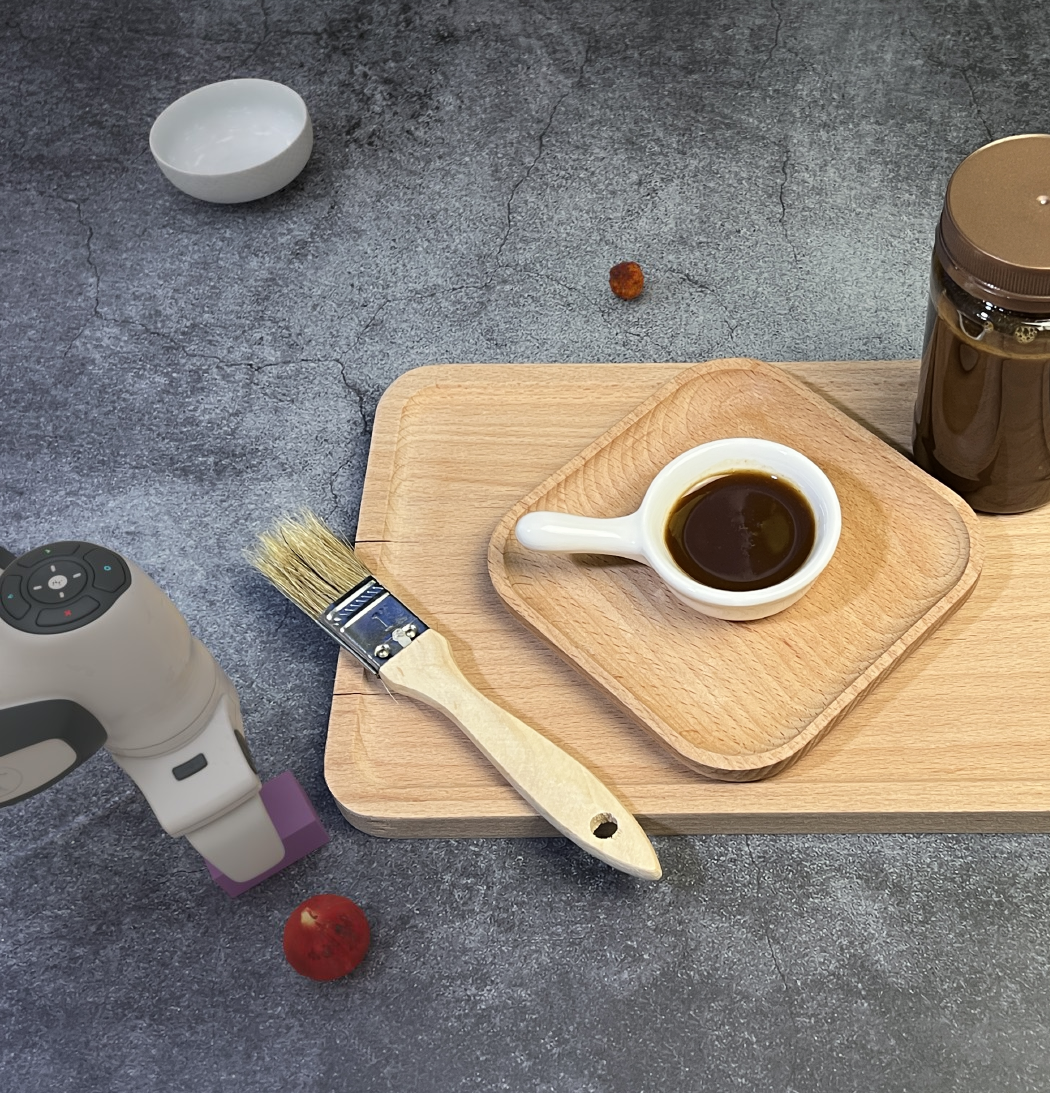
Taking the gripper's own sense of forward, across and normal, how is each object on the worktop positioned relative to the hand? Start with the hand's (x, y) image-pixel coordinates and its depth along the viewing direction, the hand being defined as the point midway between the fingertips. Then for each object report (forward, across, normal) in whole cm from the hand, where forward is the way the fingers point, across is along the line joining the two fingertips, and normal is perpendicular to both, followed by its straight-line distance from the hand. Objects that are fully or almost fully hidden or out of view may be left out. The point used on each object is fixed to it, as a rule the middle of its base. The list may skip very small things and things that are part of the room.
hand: (238, 793), depth 99 cm
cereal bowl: (+2, -71, +28) cm, 77 cm away
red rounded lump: (+2, +15, +1) cm, 15 cm away
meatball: (+2, -30, +53) cm, 61 cm away
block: (+2, +4, 0) cm, 5 cm away
